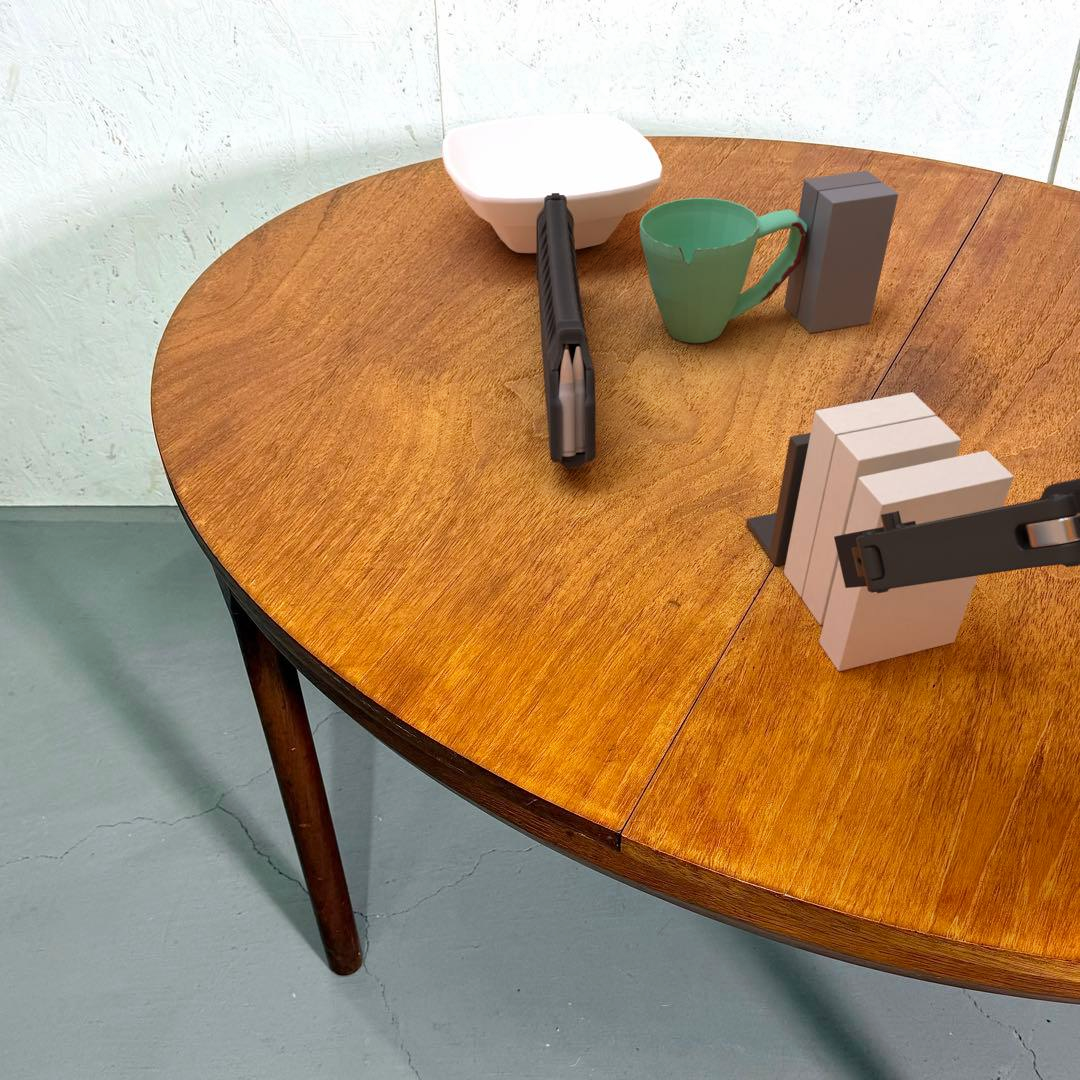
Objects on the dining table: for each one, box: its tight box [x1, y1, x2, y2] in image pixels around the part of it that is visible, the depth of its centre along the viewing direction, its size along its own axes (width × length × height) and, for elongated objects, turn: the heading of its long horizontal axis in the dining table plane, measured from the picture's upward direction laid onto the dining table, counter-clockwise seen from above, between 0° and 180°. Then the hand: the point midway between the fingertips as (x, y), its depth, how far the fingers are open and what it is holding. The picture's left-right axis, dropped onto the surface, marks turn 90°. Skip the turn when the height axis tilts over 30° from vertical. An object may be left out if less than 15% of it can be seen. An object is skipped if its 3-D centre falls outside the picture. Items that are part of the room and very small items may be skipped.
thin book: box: [818, 450, 1015, 672], centre depth 61 cm, size 8×2×13 cm, turn 107°
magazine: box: [536, 193, 597, 469], centre depth 86 cm, size 17×3×30 cm
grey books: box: [783, 170, 899, 334], centre depth 92 cm, size 6×5×12 cm
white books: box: [745, 391, 962, 626], centre depth 67 cm, size 7×10×13 cm
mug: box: [639, 197, 807, 344], centre depth 91 cm, size 15×10×10 cm
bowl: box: [441, 112, 664, 254], centre depth 106 cm, size 21×21×9 cm
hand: (961, 535), depth 56 cm, fingers open, 13 cm apart
